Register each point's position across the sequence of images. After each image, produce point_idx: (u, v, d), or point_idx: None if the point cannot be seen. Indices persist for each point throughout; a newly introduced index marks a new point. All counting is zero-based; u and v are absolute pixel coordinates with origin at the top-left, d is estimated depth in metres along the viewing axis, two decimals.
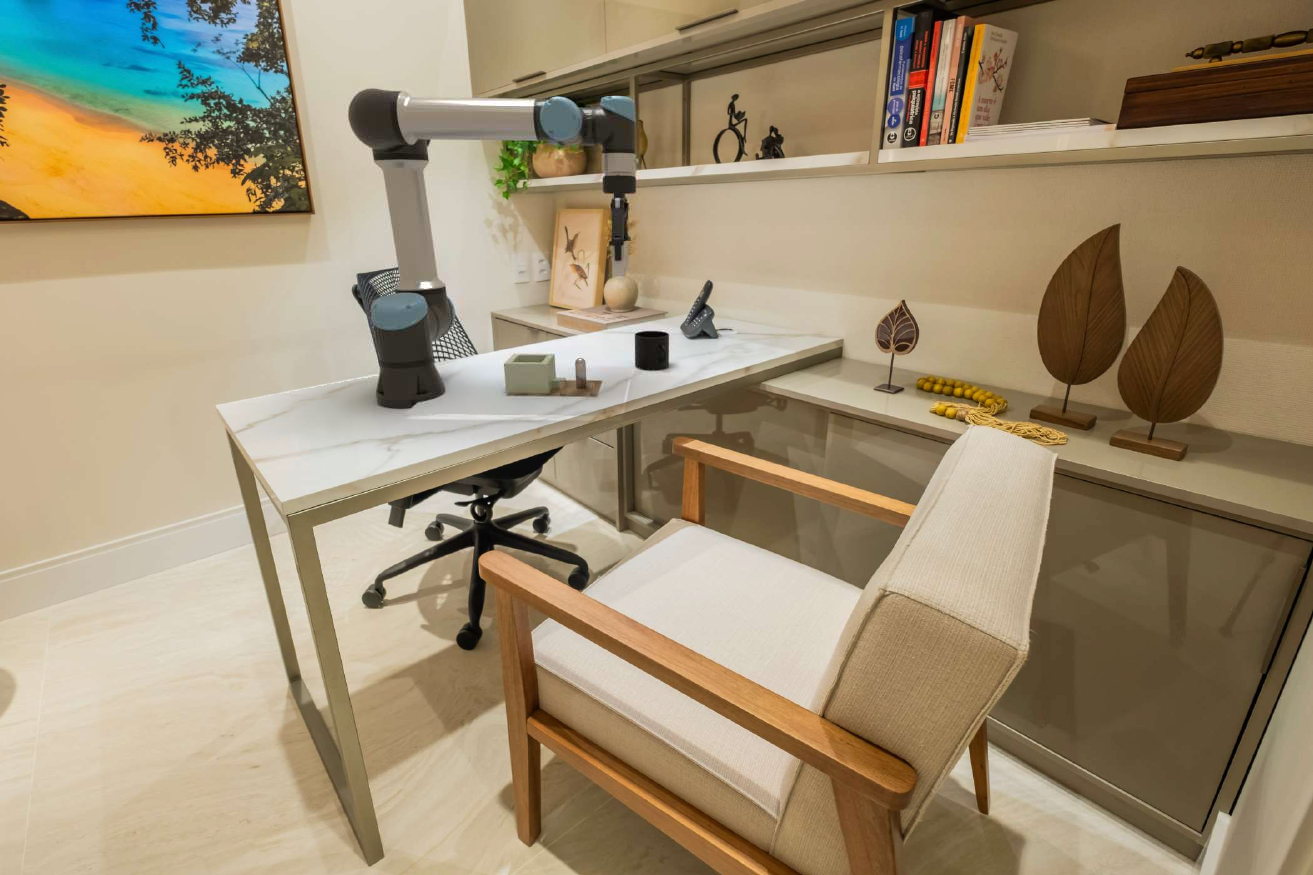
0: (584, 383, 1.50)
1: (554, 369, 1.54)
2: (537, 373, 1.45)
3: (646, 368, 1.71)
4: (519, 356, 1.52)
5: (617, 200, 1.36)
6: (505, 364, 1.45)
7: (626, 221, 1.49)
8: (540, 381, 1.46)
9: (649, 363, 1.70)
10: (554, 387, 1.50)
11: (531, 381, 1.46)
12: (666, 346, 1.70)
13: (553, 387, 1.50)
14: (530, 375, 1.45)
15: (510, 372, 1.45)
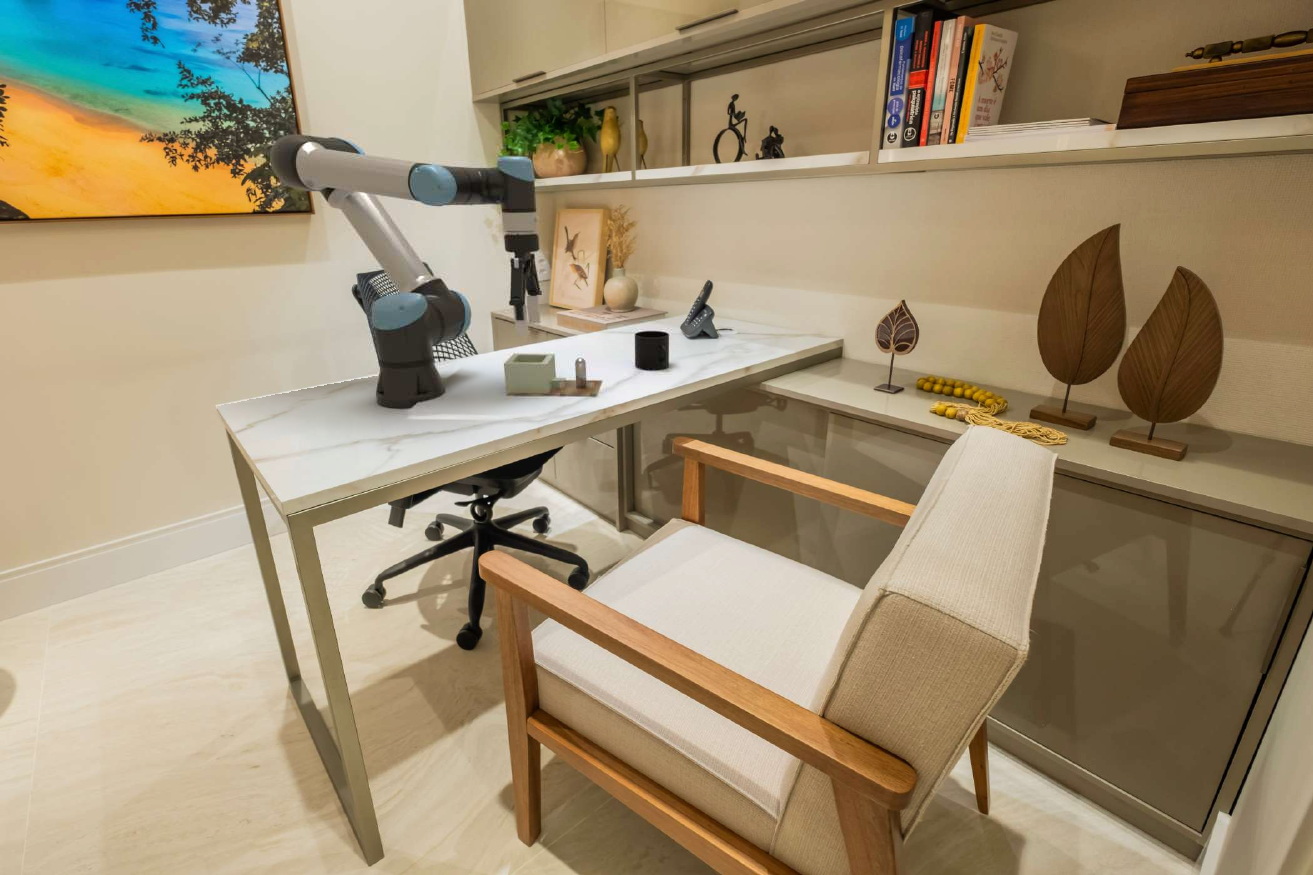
0: (584, 383, 1.50)
1: (554, 369, 1.54)
2: (537, 373, 1.45)
3: (646, 368, 1.71)
4: (519, 356, 1.52)
5: (516, 261, 1.34)
6: (505, 364, 1.45)
7: (534, 276, 1.47)
8: (540, 381, 1.46)
9: (649, 363, 1.70)
10: (554, 387, 1.50)
11: (531, 381, 1.46)
12: (666, 346, 1.70)
13: (553, 387, 1.50)
14: (530, 375, 1.45)
15: (510, 372, 1.45)
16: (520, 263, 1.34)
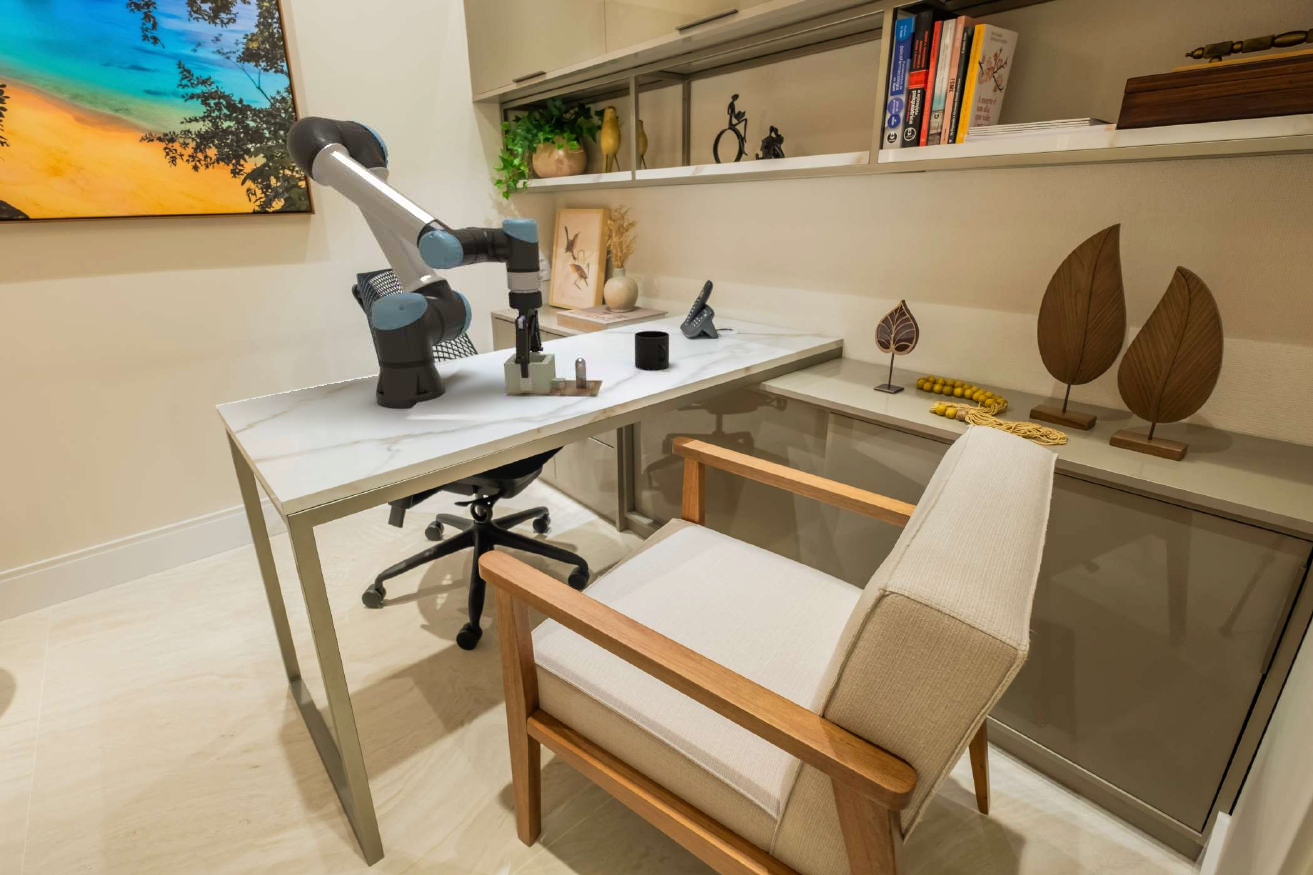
0: (584, 383, 1.50)
1: (554, 369, 1.54)
2: (537, 373, 1.45)
3: (646, 368, 1.71)
4: None
5: (520, 322, 1.39)
6: (505, 364, 1.45)
7: (536, 332, 1.51)
8: (540, 381, 1.46)
9: (649, 363, 1.70)
10: (554, 387, 1.50)
11: None
12: (666, 346, 1.70)
13: (553, 387, 1.50)
14: None
15: (510, 372, 1.45)
16: (524, 324, 1.39)
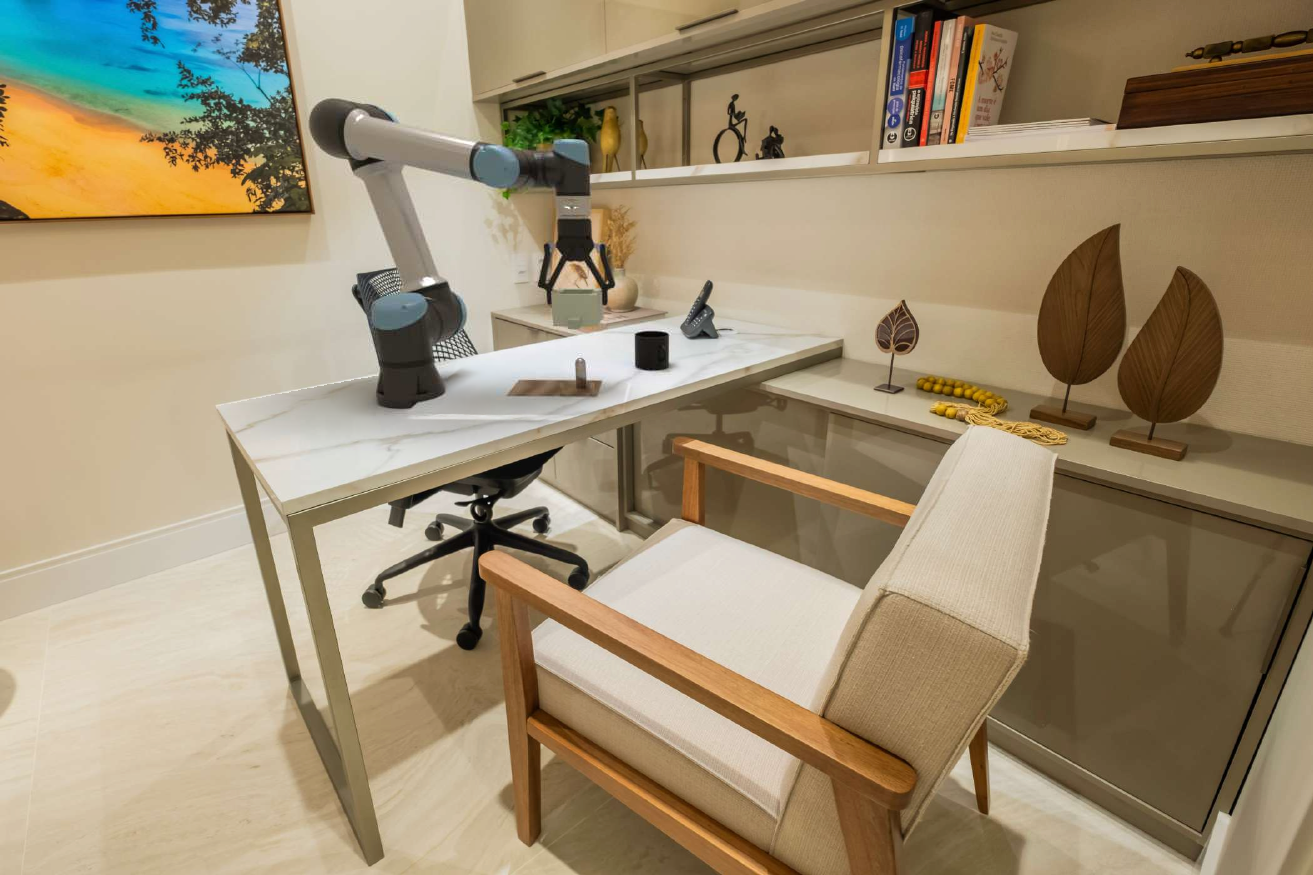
0: (584, 383, 1.50)
1: (591, 311, 1.40)
2: None
3: (646, 368, 1.71)
4: (593, 291, 1.46)
5: None
6: (559, 289, 1.48)
7: (593, 267, 1.40)
8: None
9: (649, 363, 1.70)
10: None
11: None
12: (666, 346, 1.70)
13: None
14: None
15: None
16: None
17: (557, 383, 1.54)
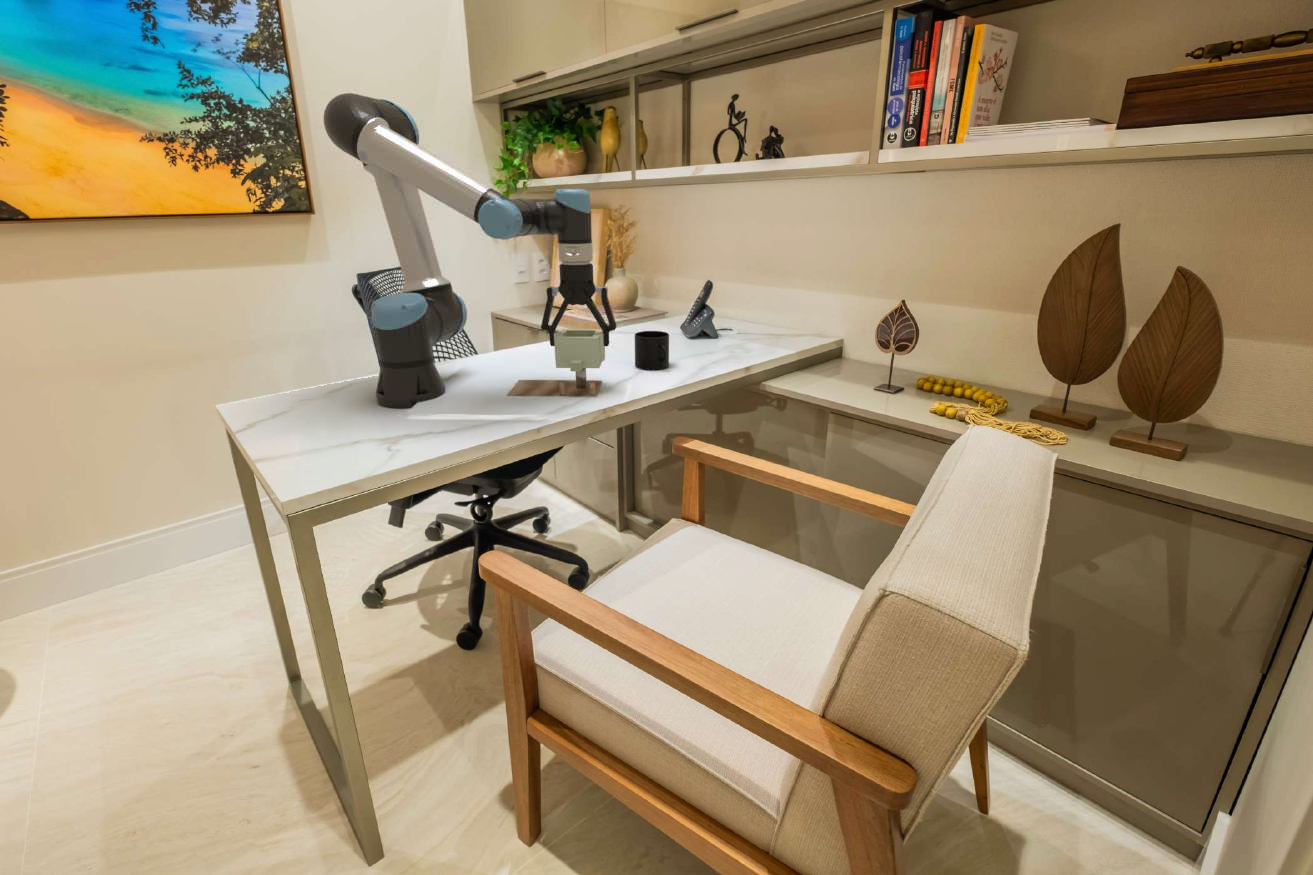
0: (584, 383, 1.50)
1: (593, 353, 1.43)
2: None
3: (646, 368, 1.71)
4: (595, 332, 1.50)
5: None
6: None
7: (594, 311, 1.43)
8: None
9: (649, 363, 1.70)
10: None
11: None
12: (666, 346, 1.70)
13: None
14: None
15: None
16: None
17: (557, 383, 1.54)
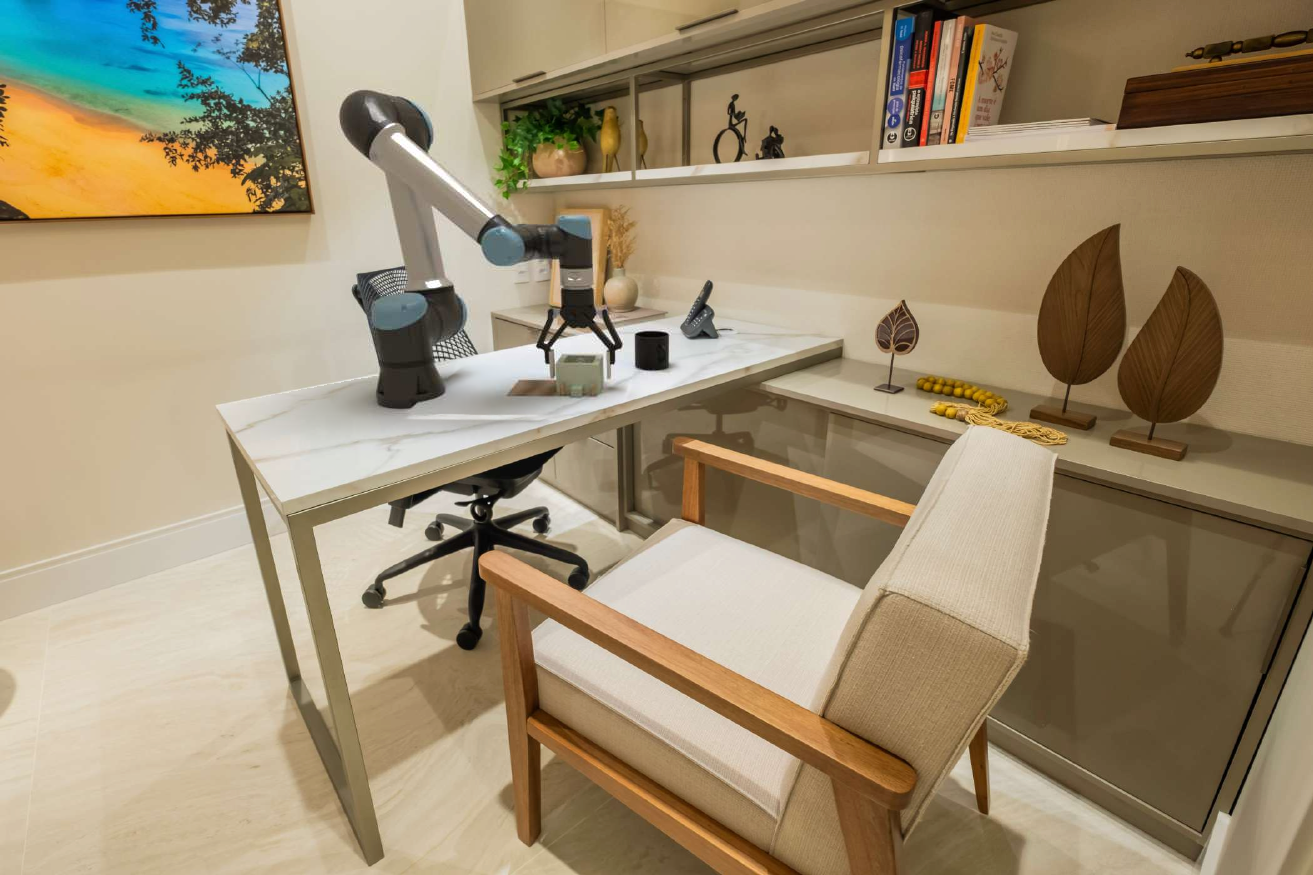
0: None
1: (593, 379, 1.45)
2: None
3: (646, 368, 1.71)
4: (595, 357, 1.52)
5: None
6: None
7: (598, 332, 1.45)
8: None
9: (649, 363, 1.70)
10: None
11: None
12: (666, 346, 1.70)
13: None
14: None
15: None
16: None
17: None
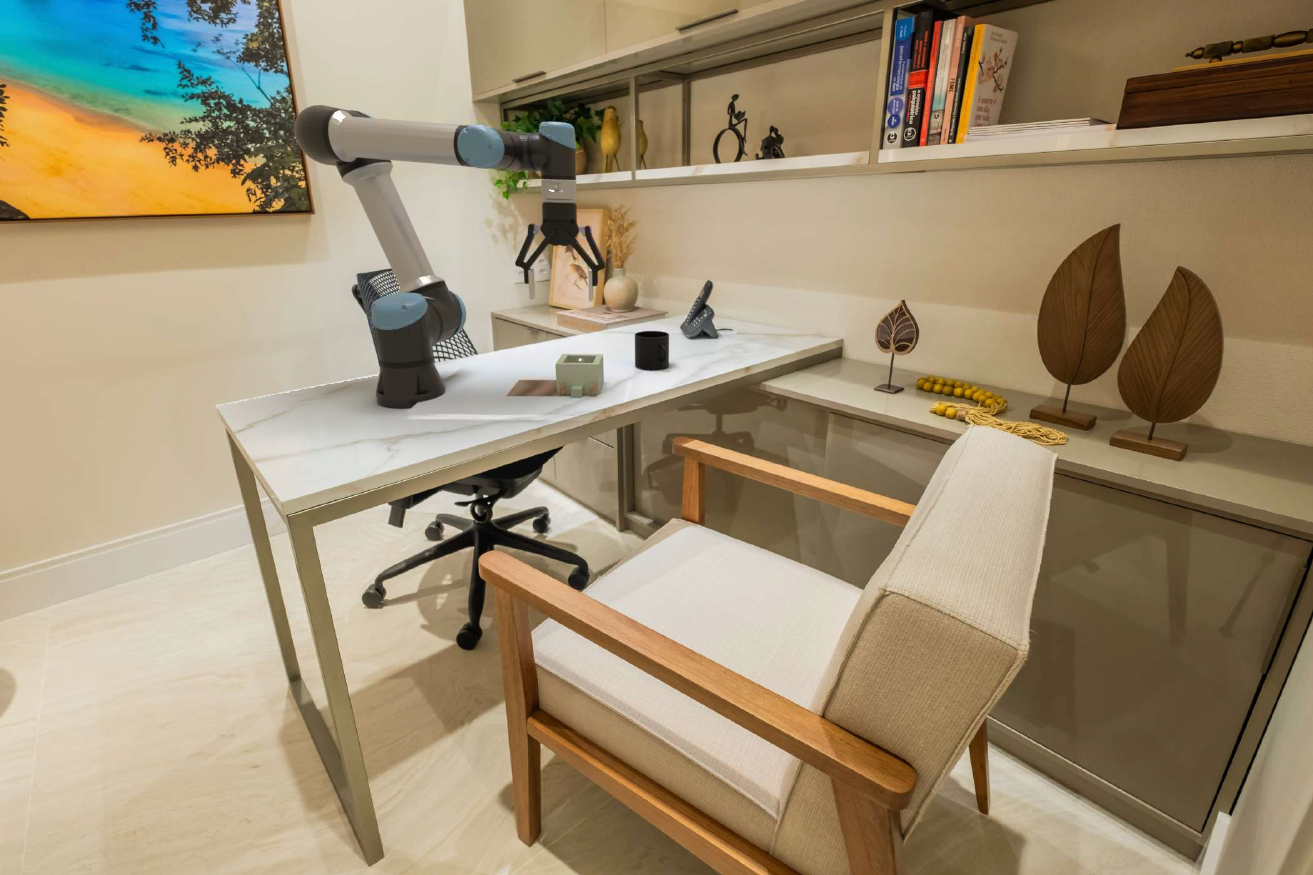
0: None
1: (593, 379, 1.45)
2: None
3: (646, 368, 1.71)
4: (595, 357, 1.52)
5: None
6: None
7: (580, 250, 1.40)
8: None
9: (649, 363, 1.70)
10: None
11: None
12: (666, 346, 1.70)
13: None
14: None
15: None
16: None
17: None
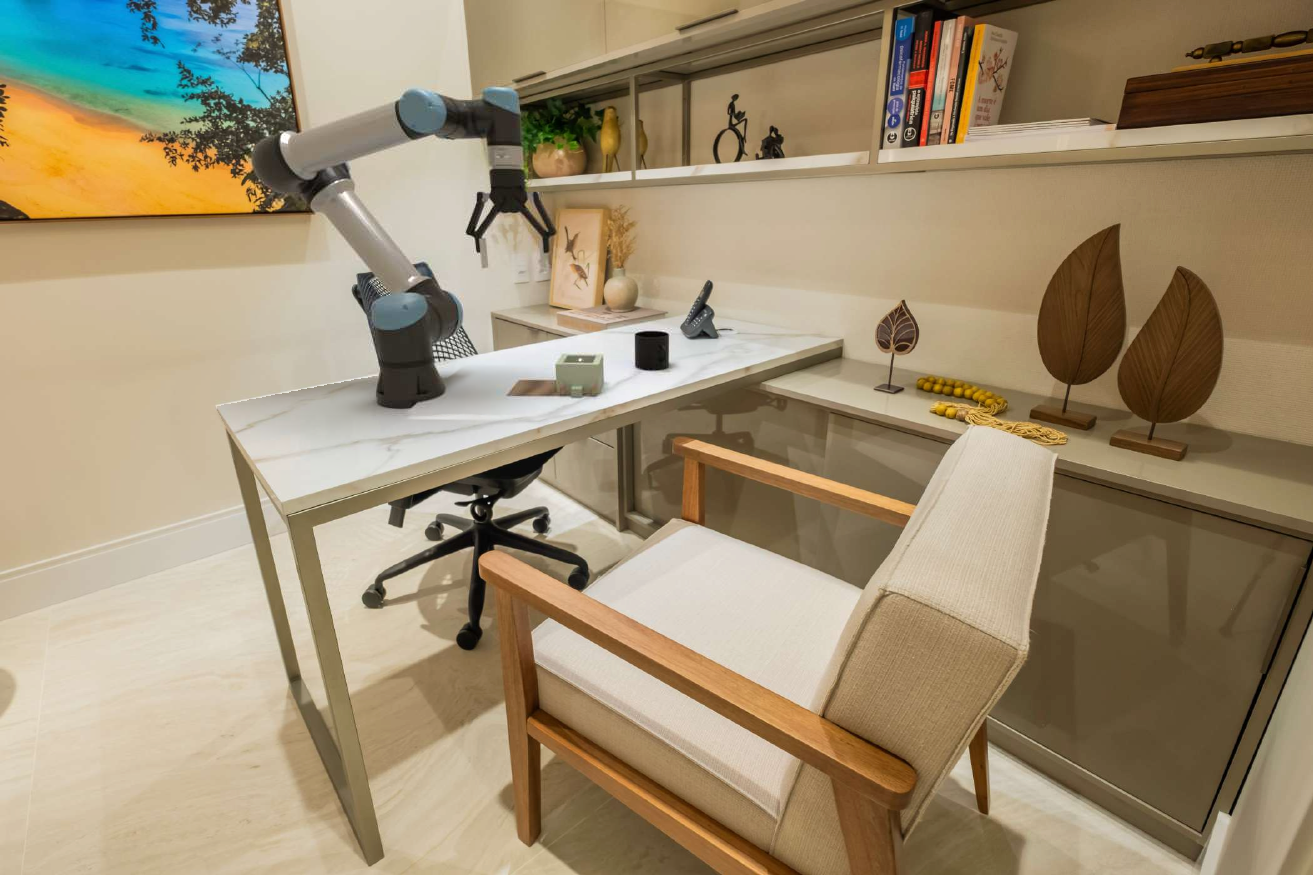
0: None
1: (593, 379, 1.45)
2: None
3: (646, 368, 1.71)
4: (595, 357, 1.52)
5: None
6: None
7: (529, 216, 1.40)
8: None
9: (649, 363, 1.70)
10: None
11: None
12: (666, 346, 1.70)
13: None
14: None
15: None
16: None
17: None
